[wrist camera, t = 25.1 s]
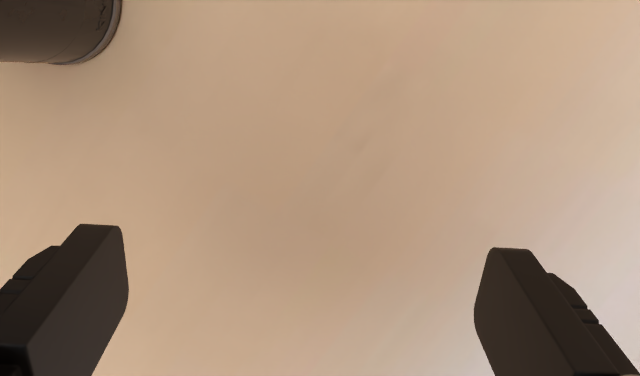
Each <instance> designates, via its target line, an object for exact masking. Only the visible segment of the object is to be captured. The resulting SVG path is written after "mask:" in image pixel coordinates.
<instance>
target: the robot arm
mask: <svg viewBox="0 0 640 376" xmlns="http://www.w3.org/2000/svg"><path fill="white" fill-rule="evenodd" d="M120 6H121V0H0V62H26V63H49V64H56V65H71V64H78V63H81V62H84V61H87V60H89V59H91V58H93V57H94V56H96V55H97V54H98V53H100V52H101V51H102V50H103V49H104V48H105V46H106V45H107V44H108V43H109V41H110V40H111V38H112V36H113V34H114V32H115V30H116V27H117V24H118V20H119V16H120ZM128 292H129V286H128V277H127V269H126V261H125V252H124V244H123V236H122V232H121V229H120V228H119V227H118V226H112V225H94V224H80V225H78V226H77V227H76V228H75V229H74V231H73V232H72V233H71V234H70V235H69V236H68V238H67V239H66V240H65V241H64V242H63V243H62V244H61V246H50V247H49V248H47V249H45V250H43V251H42V252H40V253H38V254H36V255H35V256H33V257H31V258H30V259H28V260H27V261H26V262H25V263H24V264H23V265H22V266H21V268H20V269H19V270H18V271H17V272H16V273H15V274H14V275H13V278H12V279H9V280H8V281H7V283H6V284H5V285H4V286H3V287H2V288H1V289H0V376H91V375H92V373H93V371H94V370H95V368H96V366H97V364H98V362H99V360H100V358H101V356H102V354H103V353H104V351H105V349H106V347H107V345H108V343H109V341H110V339H111V337H112V335H113V334H114V332H115V330H116V328H117V326H118V324H119V322H120V320H121V318H122V317H123V314H124V312H125V309H126V306H127V301H128ZM474 323H475V329H476V332H477V335H478V337H479V339H480V342H481V344H482V346H483V349H484V351H485V353H486V356H487V358H488V360H489V363H490V365H491V367H492V370H493V372H494V374H495V376H640V373H639V372H638V371H637V369H636V368H635V367H634V366H633V364H632V363H631V362H630V360H629V359H628V358H627V357H626V355H625V354H624V353H623V351H622V350H621V349H620V348H619V346H618V345H617V344H616V342H615V341H614V340H613V338H612V337H611V336H610V335H609V333H608V332H607V331H606V329H605V328H604V327H603V326H602V325H601V324H599V320H598V319H597V318H596V317H595V315H594V314H593V313H592V311H591V310H588V309H587V305H586V304H585V302H584V301H583V300H582V298H581V297H580V296H579V295H578V293H577V292H576V291H575V289H574V288H572V287H571V286H570V285H568V284H567V283H565V282H564V281H563V280H561V279H560V278H559V277H557V276H556V275H555V274H553V273H546V271H545V270H544V268H543V267H542V266H541V264H540V263H539V262H538V260H537V259H536V257H535V256H534V255H533V253H532V252H531V251H530V250H528V249H514V248H496V247H495V248H492V249H491V250H490V251H489V253H488V255H487V259H486V263H485V267H484V270H483V274H482V278H481V282H480V286H479V290H478V294H477V297H476V301H475V306H474Z"/></svg>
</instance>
